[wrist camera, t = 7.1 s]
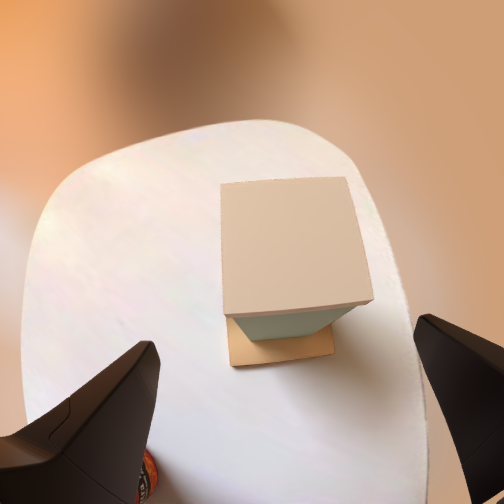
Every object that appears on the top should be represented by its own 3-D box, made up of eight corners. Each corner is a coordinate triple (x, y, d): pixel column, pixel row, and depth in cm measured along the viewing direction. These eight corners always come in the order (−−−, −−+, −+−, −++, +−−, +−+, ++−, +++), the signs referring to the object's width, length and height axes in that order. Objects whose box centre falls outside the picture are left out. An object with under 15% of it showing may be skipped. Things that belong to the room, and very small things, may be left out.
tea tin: (310, 337, 20) (373, 299, 8) (249, 342, 20) (223, 314, 8) (304, 278, 22) (345, 176, 10) (245, 283, 22) (220, 184, 10)
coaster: (333, 353, 20) (334, 353, 20) (231, 366, 20) (230, 366, 20) (318, 259, 23) (319, 256, 23) (223, 269, 23) (222, 266, 23)
